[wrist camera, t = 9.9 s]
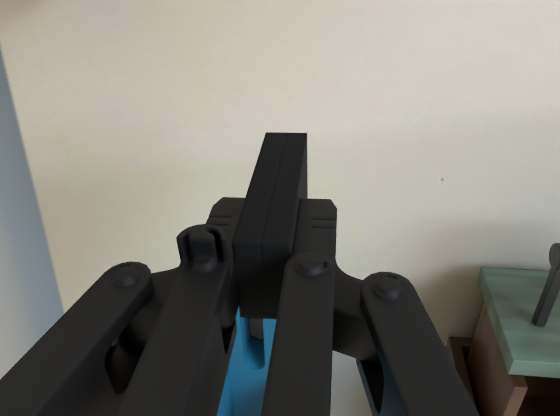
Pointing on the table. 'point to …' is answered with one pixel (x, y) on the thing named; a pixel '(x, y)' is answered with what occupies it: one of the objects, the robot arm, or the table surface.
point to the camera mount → (247, 370)
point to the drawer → (517, 342)
